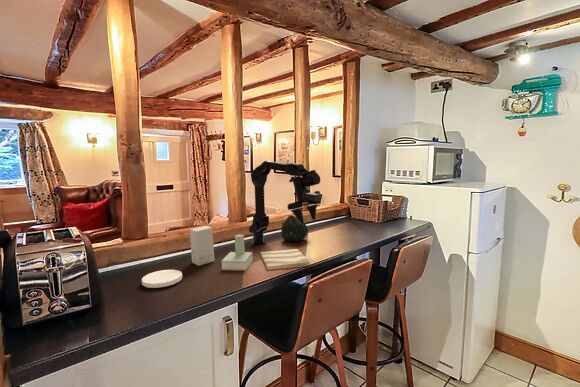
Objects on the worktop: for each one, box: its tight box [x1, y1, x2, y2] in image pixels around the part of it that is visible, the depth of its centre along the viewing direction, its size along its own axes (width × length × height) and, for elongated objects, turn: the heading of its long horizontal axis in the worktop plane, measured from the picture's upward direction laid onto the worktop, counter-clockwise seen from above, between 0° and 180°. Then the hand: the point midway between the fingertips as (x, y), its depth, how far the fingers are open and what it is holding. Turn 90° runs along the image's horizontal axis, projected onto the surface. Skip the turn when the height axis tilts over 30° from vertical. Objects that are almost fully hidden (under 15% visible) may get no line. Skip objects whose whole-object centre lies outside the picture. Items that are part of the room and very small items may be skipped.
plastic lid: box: [141, 269, 183, 289], centre depth 116 cm, size 14×14×2 cm
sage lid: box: [221, 234, 253, 264], centre depth 132 cm, size 12×10×10 cm
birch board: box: [260, 248, 311, 271], centre depth 138 cm, size 20×18×2 cm
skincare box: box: [189, 225, 216, 266], centre depth 137 cm, size 8×7×16 cm
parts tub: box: [221, 255, 254, 271], centre depth 133 cm, size 12×10×3 cm
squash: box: [280, 214, 309, 243], centre depth 172 cm, size 14×15×15 cm
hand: (308, 221), depth 145 cm, fingers open, 9 cm apart
